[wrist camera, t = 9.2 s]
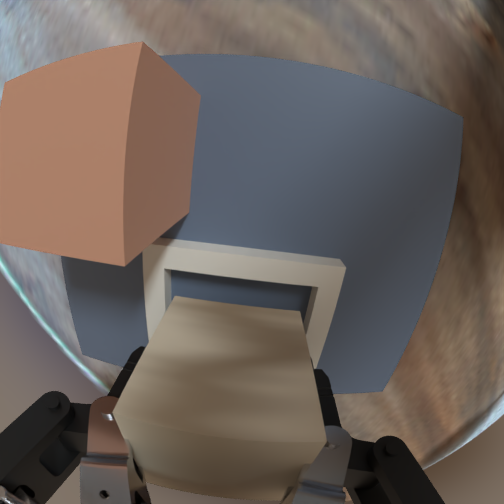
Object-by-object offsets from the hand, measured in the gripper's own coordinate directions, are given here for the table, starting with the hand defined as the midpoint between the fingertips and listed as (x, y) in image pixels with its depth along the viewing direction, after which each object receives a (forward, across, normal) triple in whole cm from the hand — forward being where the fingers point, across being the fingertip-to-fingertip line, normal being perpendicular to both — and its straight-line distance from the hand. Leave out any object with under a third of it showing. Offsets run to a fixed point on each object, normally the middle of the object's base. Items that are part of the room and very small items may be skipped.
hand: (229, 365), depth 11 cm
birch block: (+1, 0, 0) cm, 1 cm away
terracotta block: (+3, +5, -8) cm, 10 cm away
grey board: (+4, 0, -4) cm, 6 cm away
